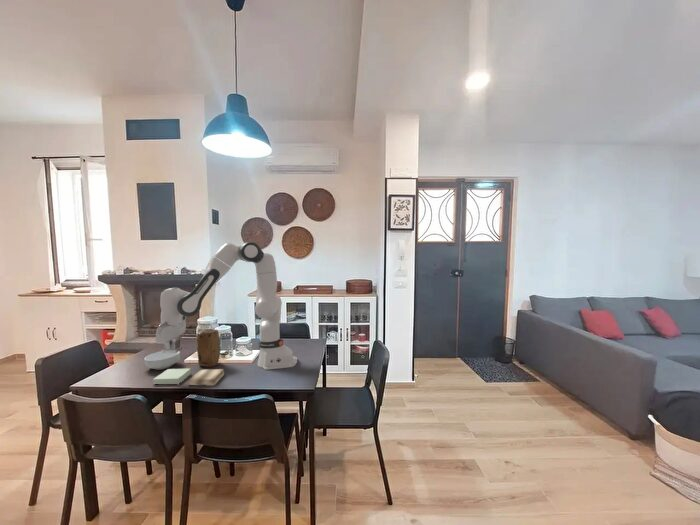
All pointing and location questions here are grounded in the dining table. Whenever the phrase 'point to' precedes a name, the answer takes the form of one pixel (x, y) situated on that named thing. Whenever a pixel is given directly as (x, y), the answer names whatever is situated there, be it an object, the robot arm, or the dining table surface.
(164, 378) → the stand
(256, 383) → the dining table surface
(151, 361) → the cereal bowl
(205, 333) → the brown jar
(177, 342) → the housing
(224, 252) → the robot arm
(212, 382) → the stand
